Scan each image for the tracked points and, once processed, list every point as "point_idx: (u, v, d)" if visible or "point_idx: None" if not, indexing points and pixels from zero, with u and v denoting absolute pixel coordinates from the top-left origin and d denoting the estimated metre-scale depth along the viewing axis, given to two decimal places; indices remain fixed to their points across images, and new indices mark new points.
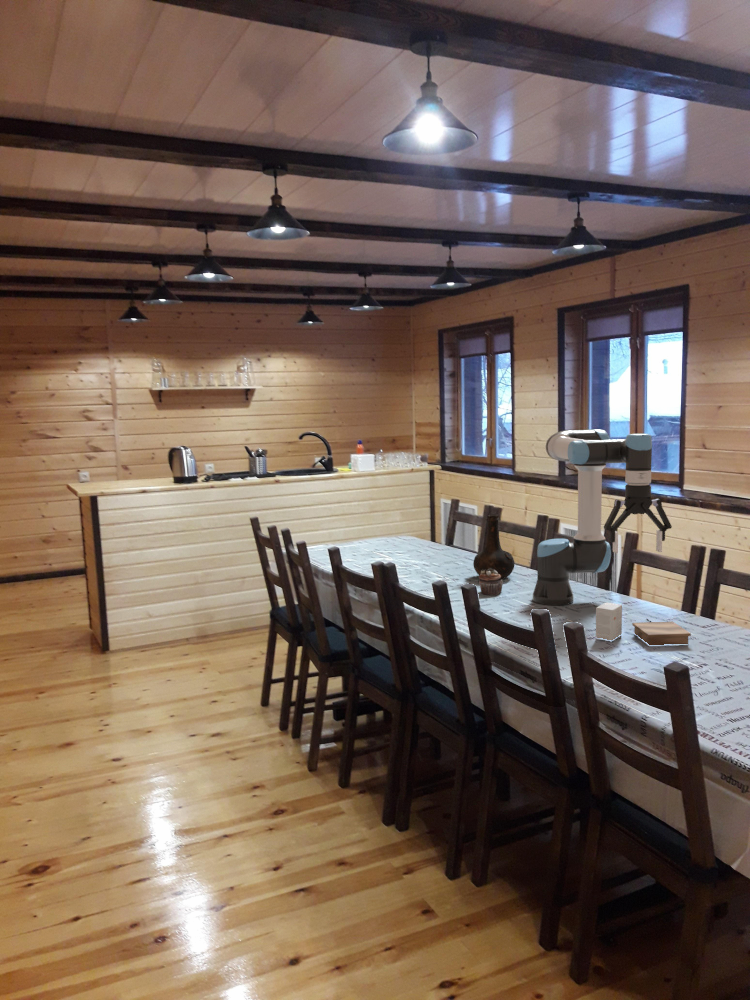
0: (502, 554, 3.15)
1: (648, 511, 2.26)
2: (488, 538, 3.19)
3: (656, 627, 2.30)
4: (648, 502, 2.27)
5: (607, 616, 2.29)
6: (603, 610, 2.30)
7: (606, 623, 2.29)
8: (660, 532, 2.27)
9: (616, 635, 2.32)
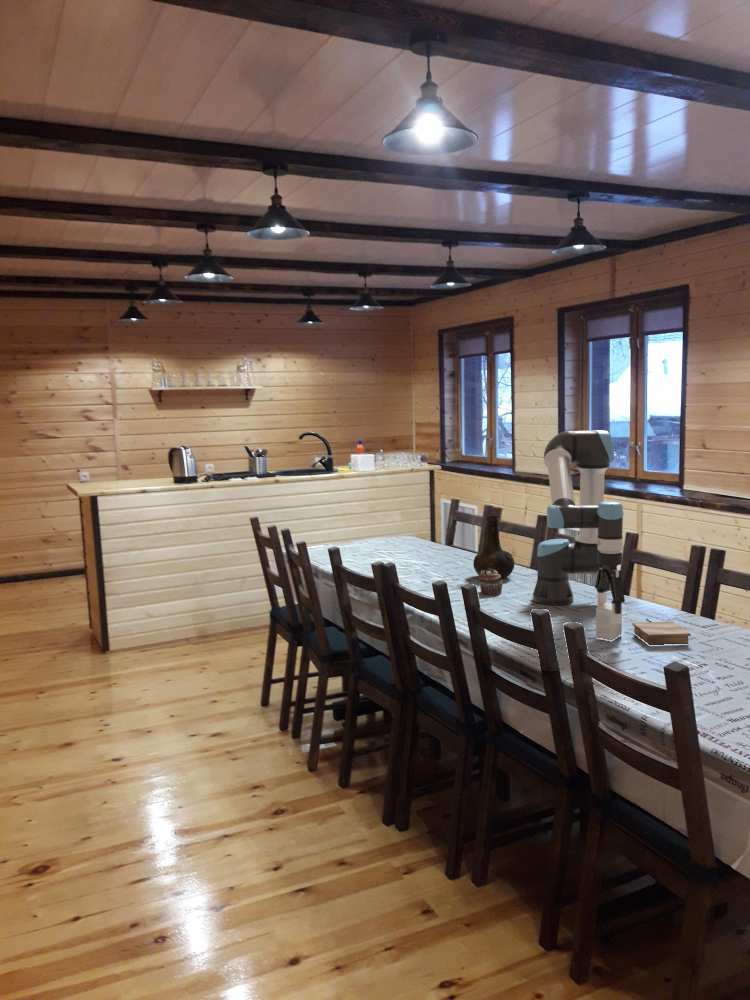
0: (502, 554, 3.15)
1: (607, 579, 2.29)
2: (488, 538, 3.19)
3: (656, 627, 2.30)
4: (609, 571, 2.28)
5: (607, 616, 2.29)
6: (603, 610, 2.30)
7: (606, 623, 2.29)
8: (612, 603, 2.25)
9: (616, 635, 2.32)
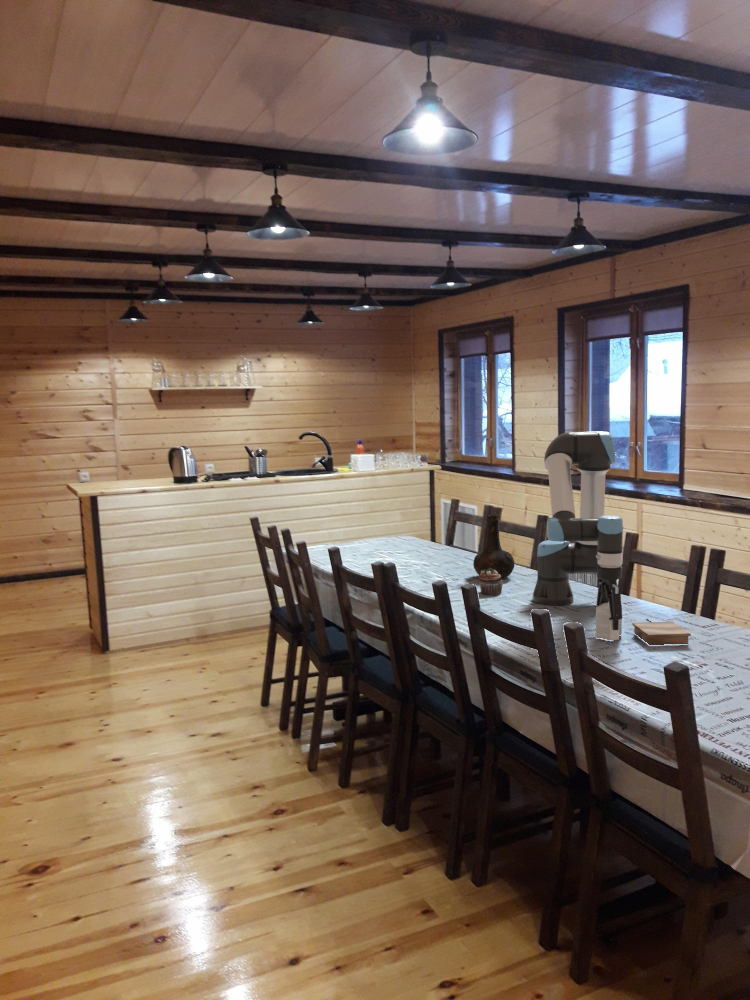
0: (502, 554, 3.15)
1: (606, 594, 2.30)
2: (488, 538, 3.19)
3: (656, 627, 2.30)
4: (609, 585, 2.29)
5: (607, 616, 2.29)
6: (603, 610, 2.30)
7: (606, 623, 2.30)
8: (610, 620, 2.28)
9: None
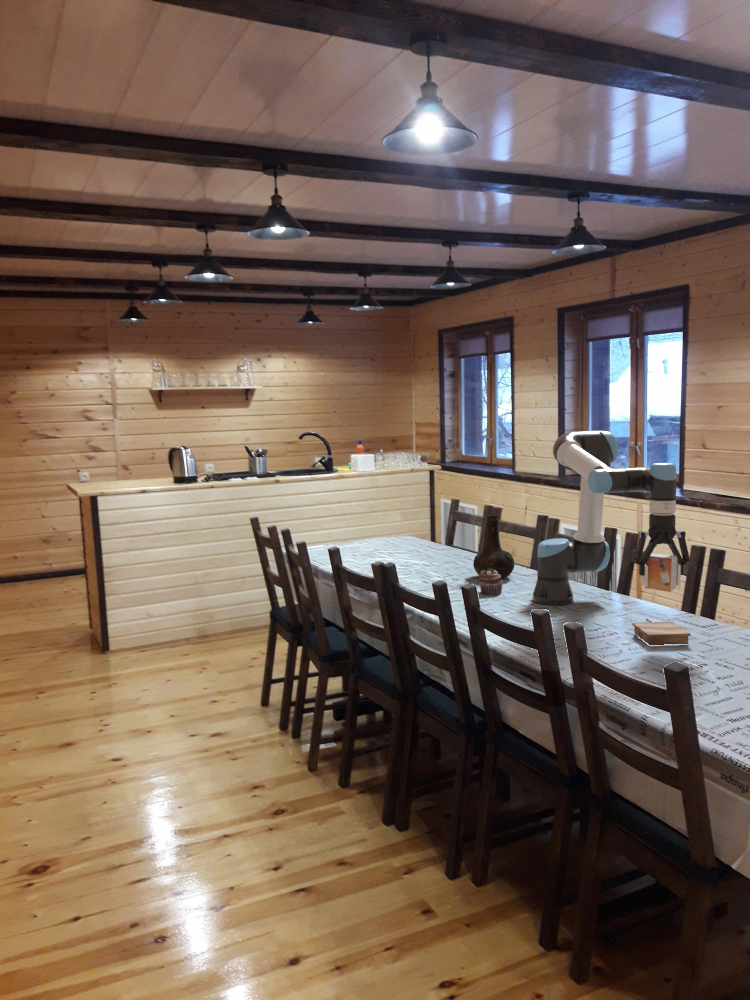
0: (502, 554, 3.15)
1: (671, 542, 2.25)
2: (488, 538, 3.19)
3: (656, 627, 2.30)
4: (672, 532, 2.25)
5: (675, 564, 2.26)
6: (674, 558, 2.24)
7: (675, 570, 2.26)
8: (679, 566, 2.26)
9: None
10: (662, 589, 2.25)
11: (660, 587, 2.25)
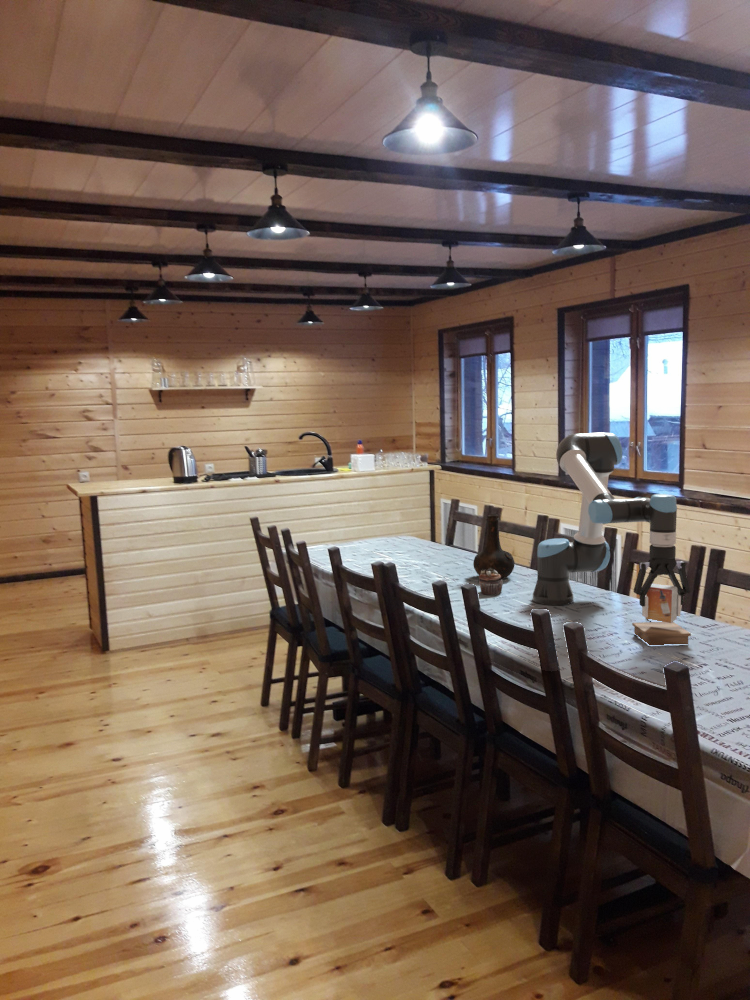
0: (502, 554, 3.15)
1: (671, 573, 2.26)
2: (488, 538, 3.19)
3: (656, 627, 2.30)
4: (673, 563, 2.26)
5: (676, 595, 2.27)
6: (674, 589, 2.25)
7: (675, 601, 2.27)
8: (679, 596, 2.27)
9: None
10: (662, 620, 2.26)
11: (661, 618, 2.27)
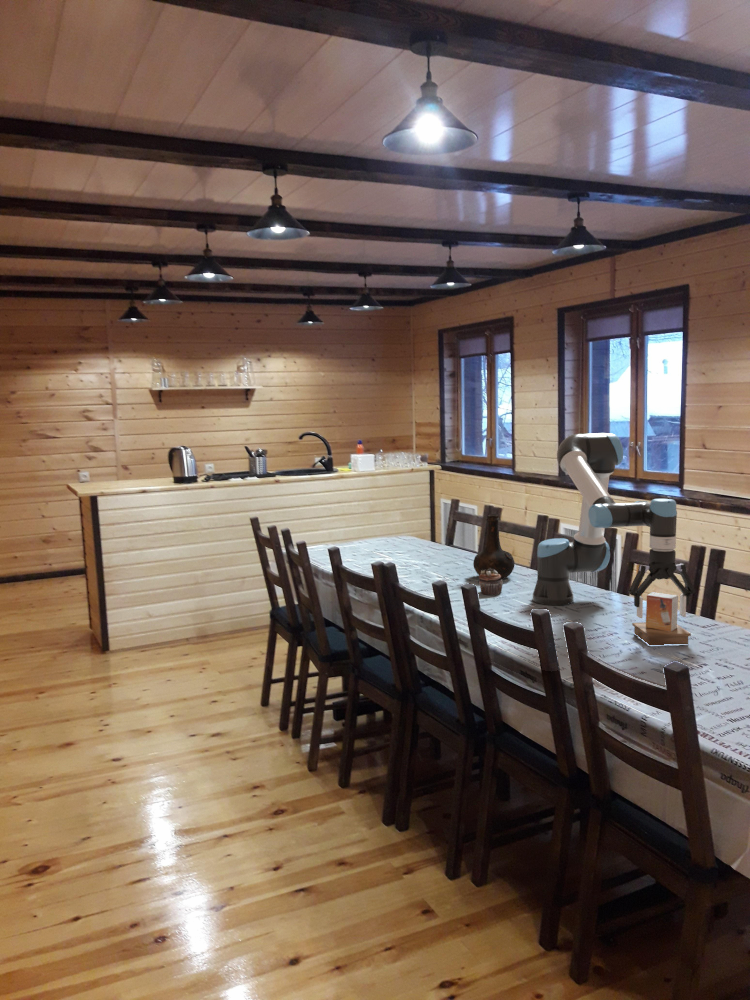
0: (502, 554, 3.15)
1: (672, 576, 2.26)
2: (488, 538, 3.19)
3: None
4: (672, 567, 2.26)
5: (676, 603, 2.27)
6: (674, 598, 2.26)
7: (675, 610, 2.27)
8: (684, 597, 2.27)
9: None
10: (663, 629, 2.27)
11: (661, 626, 2.27)
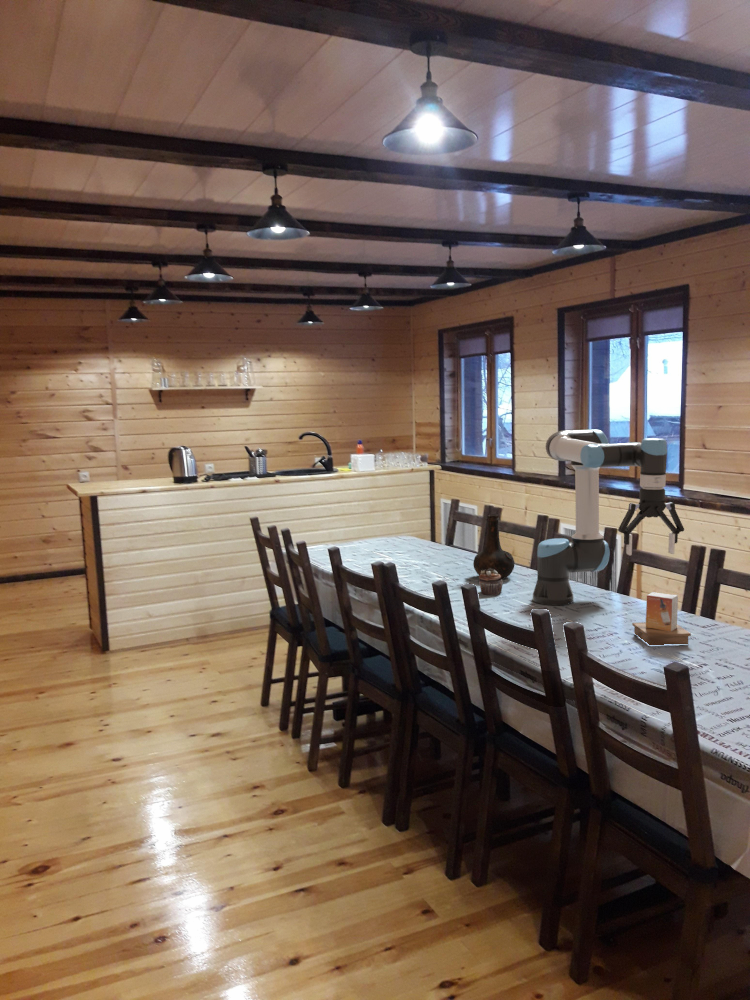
0: (502, 554, 3.15)
1: (662, 514, 2.31)
2: (488, 538, 3.19)
3: None
4: (662, 505, 2.31)
5: (676, 603, 2.27)
6: (674, 598, 2.26)
7: (675, 610, 2.27)
8: (673, 535, 2.32)
9: None
10: (663, 629, 2.27)
11: (661, 626, 2.27)
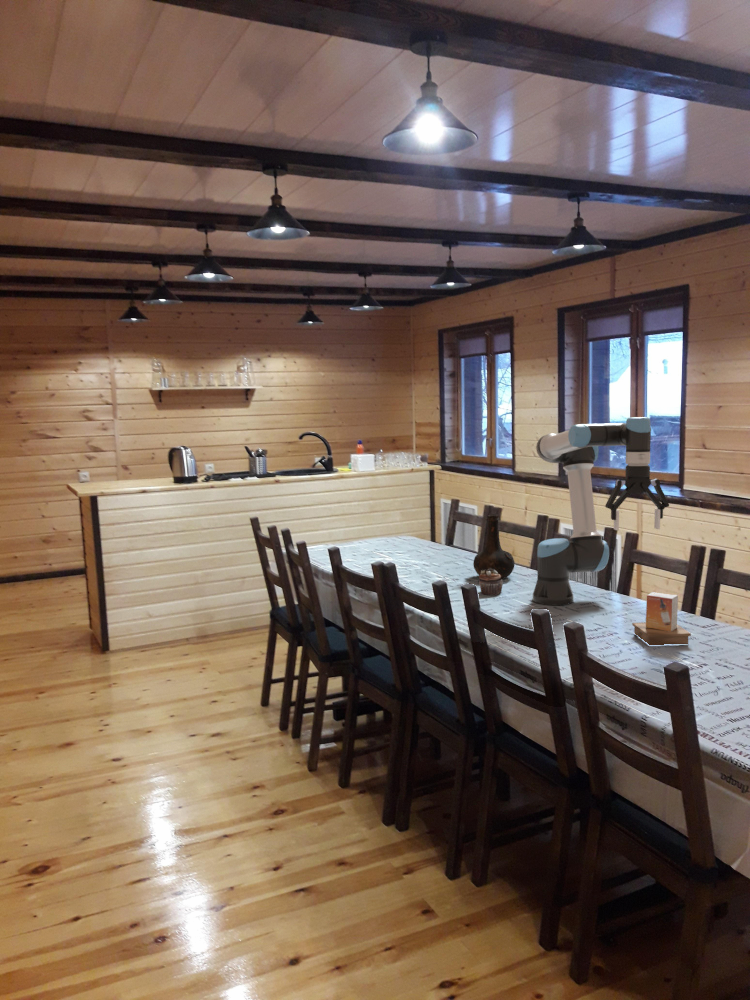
0: (502, 554, 3.15)
1: (647, 490, 2.39)
2: (488, 538, 3.19)
3: None
4: (647, 482, 2.39)
5: (676, 603, 2.27)
6: (674, 598, 2.26)
7: (675, 610, 2.27)
8: (658, 510, 2.40)
9: None
10: (663, 629, 2.27)
11: (661, 626, 2.27)
